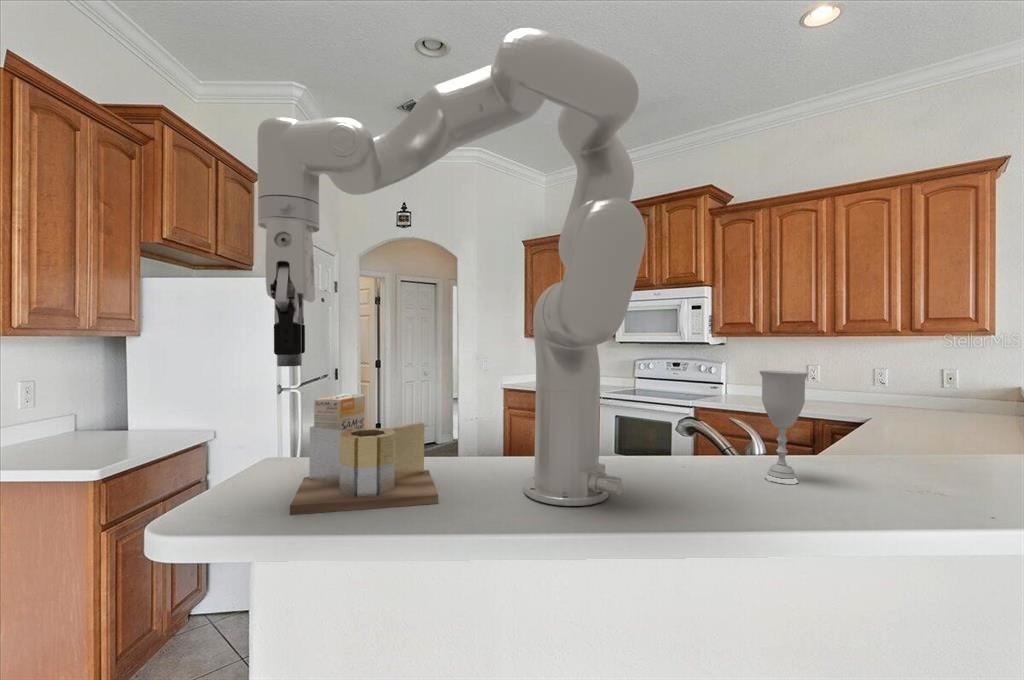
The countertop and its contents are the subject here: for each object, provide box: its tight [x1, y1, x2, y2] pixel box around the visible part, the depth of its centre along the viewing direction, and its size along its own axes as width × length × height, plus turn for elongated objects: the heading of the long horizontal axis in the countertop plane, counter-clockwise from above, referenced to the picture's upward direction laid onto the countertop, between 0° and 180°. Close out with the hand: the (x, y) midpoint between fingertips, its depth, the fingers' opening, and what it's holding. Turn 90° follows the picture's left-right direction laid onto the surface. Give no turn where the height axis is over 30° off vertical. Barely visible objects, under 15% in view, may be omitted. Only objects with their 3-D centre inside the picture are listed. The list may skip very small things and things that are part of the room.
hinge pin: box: [273, 287, 303, 367], centre depth 66 cm, size 4×4×10 cm
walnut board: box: [289, 469, 439, 516], centre depth 72 cm, size 13×19×1 cm
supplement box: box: [313, 393, 366, 430], centre depth 82 cm, size 8×5×13 cm, turn 168°
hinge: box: [308, 422, 425, 498], centre depth 73 cm, size 11×17×8 cm, turn 105°
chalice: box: [758, 370, 810, 479], centre depth 82 cm, size 7×7×18 cm
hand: (290, 352), depth 66 cm, fingers closed on hinge pin, 3 cm apart
